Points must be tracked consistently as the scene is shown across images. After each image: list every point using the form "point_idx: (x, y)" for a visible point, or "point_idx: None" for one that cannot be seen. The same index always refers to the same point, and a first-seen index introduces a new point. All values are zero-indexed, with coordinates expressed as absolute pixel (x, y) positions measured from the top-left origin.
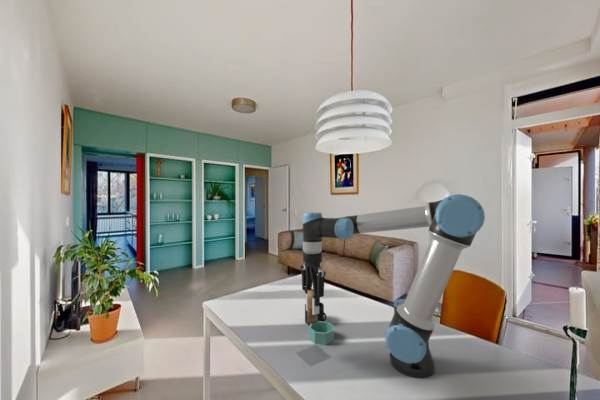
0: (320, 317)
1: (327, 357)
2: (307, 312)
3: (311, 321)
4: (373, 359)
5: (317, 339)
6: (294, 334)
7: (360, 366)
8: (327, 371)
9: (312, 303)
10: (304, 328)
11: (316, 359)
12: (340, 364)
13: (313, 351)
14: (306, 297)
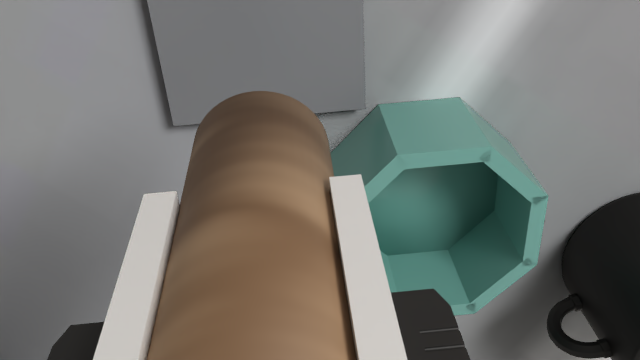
0: (591, 306)
1: (178, 98)
2: (287, 159)
3: (207, 127)
4: (70, 317)
5: (371, 142)
6: (617, 43)
7: (32, 226)
8: (53, 17)
9: (144, 319)
10: (627, 154)
11: (190, 12)
12: (95, 137)
13: (297, 47)
14: (384, 342)
